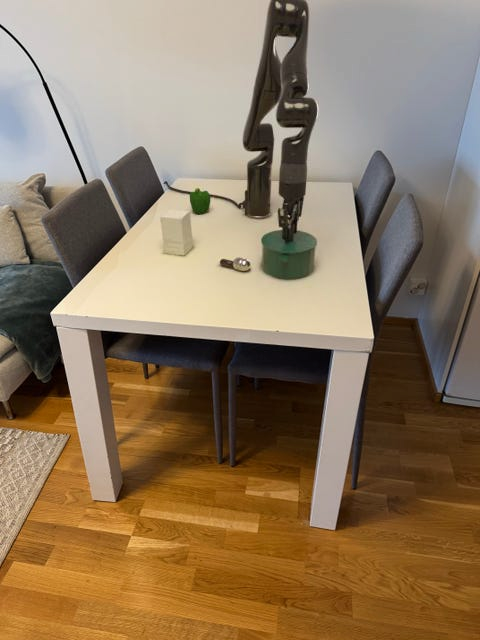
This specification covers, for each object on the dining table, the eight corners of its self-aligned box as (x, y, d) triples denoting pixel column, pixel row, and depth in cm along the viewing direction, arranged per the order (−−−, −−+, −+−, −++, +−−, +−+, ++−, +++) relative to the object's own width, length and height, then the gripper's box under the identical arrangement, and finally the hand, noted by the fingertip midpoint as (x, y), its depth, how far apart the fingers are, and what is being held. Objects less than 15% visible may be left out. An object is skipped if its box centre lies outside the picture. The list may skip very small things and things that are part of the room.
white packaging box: (193, 247, 151) (191, 210, 144) (184, 256, 145) (181, 219, 138) (173, 244, 153) (170, 208, 146) (163, 253, 147) (159, 216, 140)
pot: (256, 280, 131) (256, 254, 126) (268, 251, 148) (269, 226, 143) (309, 286, 128) (312, 259, 123) (315, 255, 145) (318, 230, 140)
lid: (256, 252, 128) (256, 232, 125) (266, 230, 142) (266, 212, 138) (314, 258, 125) (316, 237, 122) (319, 235, 139) (321, 216, 135)
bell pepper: (201, 207, 184) (200, 182, 178) (214, 211, 179) (214, 186, 173) (185, 212, 179) (183, 187, 173) (198, 217, 174) (197, 191, 168)
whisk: (217, 267, 138) (216, 256, 136) (223, 262, 141) (223, 251, 139) (246, 274, 134) (246, 263, 132) (252, 269, 137) (252, 258, 135)
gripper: (290, 170, 129) (287, 225, 139) (269, 183, 119) (267, 242, 128) (314, 173, 126) (309, 230, 136) (295, 187, 116) (291, 247, 125)
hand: (289, 235), depth 132 cm, fingers open, 5 cm apart
